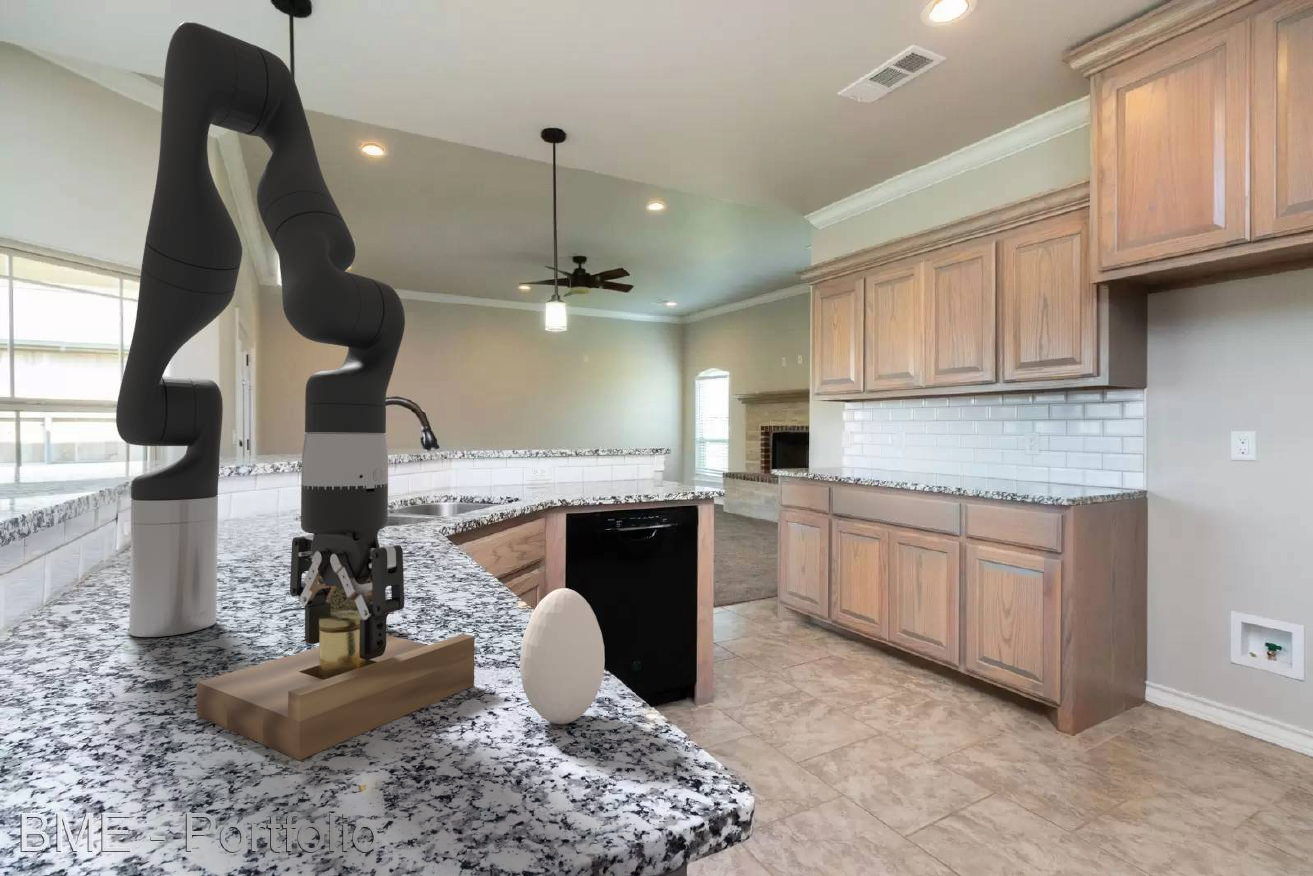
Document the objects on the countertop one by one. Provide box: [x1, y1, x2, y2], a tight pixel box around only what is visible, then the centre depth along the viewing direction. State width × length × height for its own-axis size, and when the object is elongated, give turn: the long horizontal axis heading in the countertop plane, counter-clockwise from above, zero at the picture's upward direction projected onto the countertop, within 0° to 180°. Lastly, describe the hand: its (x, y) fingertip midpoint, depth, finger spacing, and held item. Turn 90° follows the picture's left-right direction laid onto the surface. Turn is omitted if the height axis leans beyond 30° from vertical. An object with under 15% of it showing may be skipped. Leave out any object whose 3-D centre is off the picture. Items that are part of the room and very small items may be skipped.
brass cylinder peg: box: [318, 610, 365, 680], centre depth 62 cm, size 4×4×8 cm
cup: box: [326, 577, 373, 613], centre depth 85 cm, size 8×7×8 cm
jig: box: [196, 633, 476, 761], centre depth 61 cm, size 16×18×5 cm
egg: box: [519, 587, 606, 725], centre depth 57 cm, size 7×7×12 cm
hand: (344, 649), depth 62 cm, fingers open, 8 cm apart
